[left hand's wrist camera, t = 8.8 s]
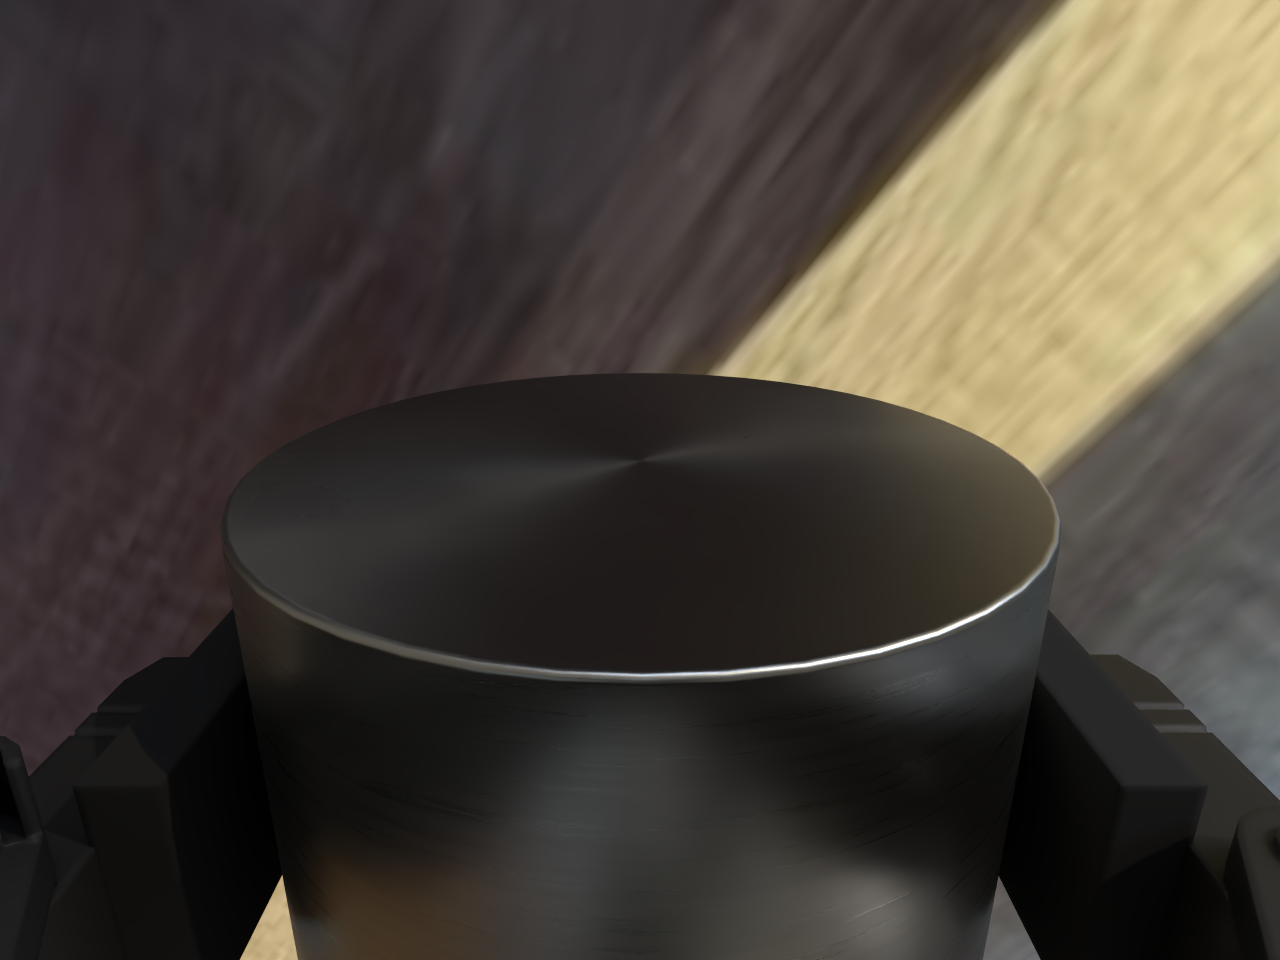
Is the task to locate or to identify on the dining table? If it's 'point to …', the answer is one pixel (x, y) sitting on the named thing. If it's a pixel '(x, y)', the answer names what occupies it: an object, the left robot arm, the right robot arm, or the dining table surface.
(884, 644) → the rod
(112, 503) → the dining table surface
